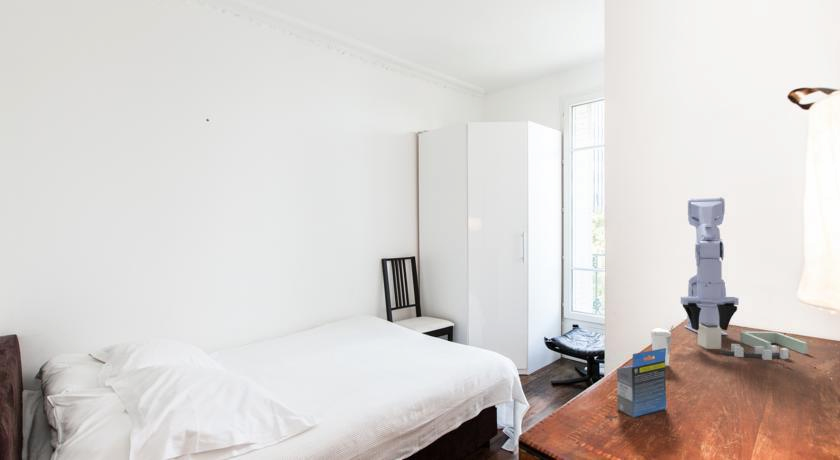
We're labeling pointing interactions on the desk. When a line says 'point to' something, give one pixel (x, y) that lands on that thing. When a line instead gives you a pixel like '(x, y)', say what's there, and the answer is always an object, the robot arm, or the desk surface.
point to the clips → (760, 351)
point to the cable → (750, 354)
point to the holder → (772, 340)
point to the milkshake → (661, 341)
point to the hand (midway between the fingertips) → (709, 329)
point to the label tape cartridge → (642, 384)
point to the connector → (709, 336)
